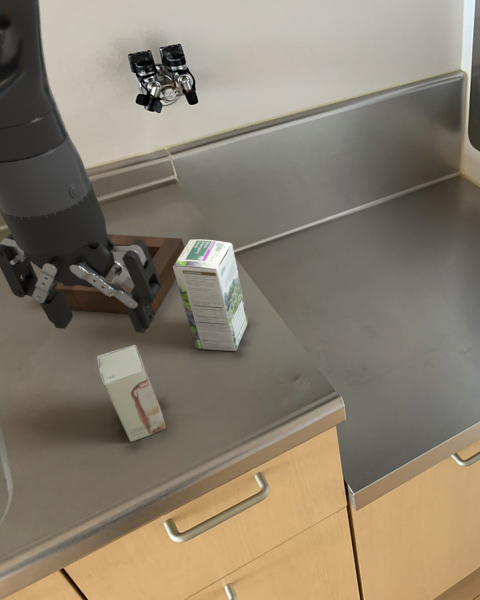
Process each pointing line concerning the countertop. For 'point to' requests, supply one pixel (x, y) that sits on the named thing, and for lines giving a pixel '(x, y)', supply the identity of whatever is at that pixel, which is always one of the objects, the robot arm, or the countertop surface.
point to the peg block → (94, 300)
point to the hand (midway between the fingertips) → (104, 325)
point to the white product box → (131, 392)
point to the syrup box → (211, 294)
